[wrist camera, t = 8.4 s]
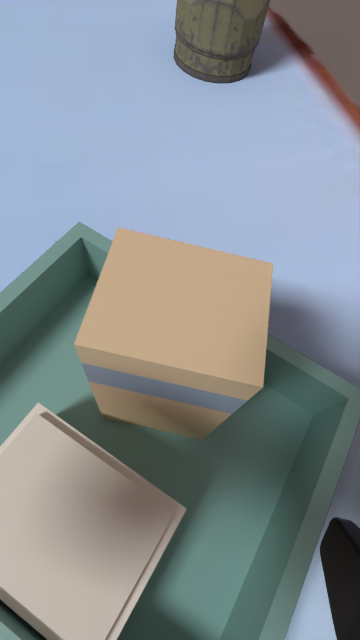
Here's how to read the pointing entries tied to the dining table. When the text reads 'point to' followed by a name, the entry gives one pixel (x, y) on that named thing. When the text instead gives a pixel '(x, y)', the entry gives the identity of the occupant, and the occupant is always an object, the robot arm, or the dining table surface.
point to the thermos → (218, 37)
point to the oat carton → (175, 334)
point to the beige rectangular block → (75, 531)
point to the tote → (189, 462)
